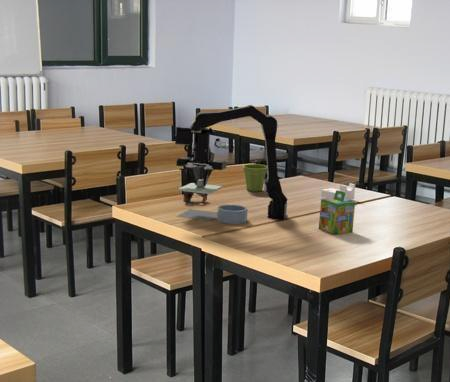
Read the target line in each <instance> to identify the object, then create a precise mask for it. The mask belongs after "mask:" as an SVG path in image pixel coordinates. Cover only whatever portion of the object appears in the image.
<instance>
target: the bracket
mask: <svg viewBox="0 0 450 382" xmlns="http://www.w3.org/2000/svg"><path fill="white" fill-rule="evenodd" d="M355 189H356V183H348V187H347V185H344V184H339V189H337V188H332V187H329V188H325V189H321V194H320V197H321V196H322V197H321V198H323V197H326V198H325V199H327V198H334V196H335V193H336V191H337V190H338V191H342V192H345V196H344V199H347V200H350V201H352V200H354V199H355V193H356V192H355ZM337 197H340V198H341V194H338V195H337Z"/></svg>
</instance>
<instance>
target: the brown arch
mask: <svg viewBox="0 0 450 382" xmlns="http://www.w3.org/2000/svg"><path fill="white" fill-rule="evenodd" d="M194 194H197V195H198V196H200V197H201V198H202V200H201V203H202V204H205V203H206V201H207V200H208V195H209V194H204V193H195V192H186V191H183V197H184V198H183V202H185V203H186V202H188V203H189V202H191V200H192V198H193V196H194Z"/></svg>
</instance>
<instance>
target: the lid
mask: <svg viewBox="0 0 450 382" xmlns="http://www.w3.org/2000/svg"><path fill="white" fill-rule="evenodd" d="M177 189H178V192H185V191H186V192H194V194H196V193H204V194H208V195H212V194H214V193H215V192H217V191H220V190H221V189H223V186H222V185H214V184H206V186H204V179H203V178H202V179H200V178H199V179H198V180H197V185H195V183H194V182H191V183H187V184H186V185H183V186H181V187H179V188H177Z"/></svg>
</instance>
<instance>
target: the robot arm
mask: <svg viewBox="0 0 450 382" xmlns="http://www.w3.org/2000/svg"><path fill="white" fill-rule="evenodd" d="M249 117H251V118H252V119H254V121H257V122H258V123H260V127H261V130H262V134H263V138H264V142H265V156H266V157H265V158H266V166H267V171H266V173H267V174H266V178H265V179H263V181H264V184H263V190H264V192H265V193H266V194H267V196H268V197H269V198H270V199H271V200H269V204H268V206H267V218H268V219H269V218H270V219H278V220H285V219H286V218H287V217H288V214H287V210H288V209H287V208H288V198H287V196H286V195H285V193H284V192H283V189H282V185H281V182H280V177H279V174H278V159H277V149H276V148H277V146H276V144H277V143H276V137H277V132H278V120H277V119H276V118H275V117H274V116H273V115H271V114H264V113H263V112H261V111H260V110H259V109H258V108H256V107H255V106H254V105H253V104H248V105H246V106H242V107H237V108H232V109H227V110H221V111H200V112H198V113H196V115H195V118H194V122H193V123H192V124H191V126H189V127H188V126H187V127H186V126H185V127H183V126H176V128H175V138H174V141H175V146H176V145H177V146H178V145H179V146H180V145H181V146H190V145H191V144H192V143H193V142H194V144H193V145H194V146H193V148H192V151H193V153H194V155H193V158H191V157H189V156H188V157H186V156H182V157H178V158H177V159H176V161H175V164H176V166H177V167H184V166H186V167H185V168H186V169H187V170H188V171H189V173H190V176H191V178H192V180H193V183H195V185H197V180H199V179H198V177H199V176H198V175H199V173H198V170H199V167H200V166H201V167H206V168H204V169H203V180H204V186H206V184H207V183H208V181H209V178H210V176H211V174H212V173H213V171H217V170H218V171H223V170H225V169H227V166H228V165H227V161H226V160H219V159H218V160H217V159H216V160H215V153H213V152H212V150H211V147H210V140H211V139H210V137H211V135H215V134H216V132H215V130H213V129H212V126H214V125H217V124H218V123H222V122H226V121H232V120H236V119H242V118H249ZM207 128H208V129H207ZM198 130H199V131H198ZM207 185H208V184H207Z"/></svg>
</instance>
